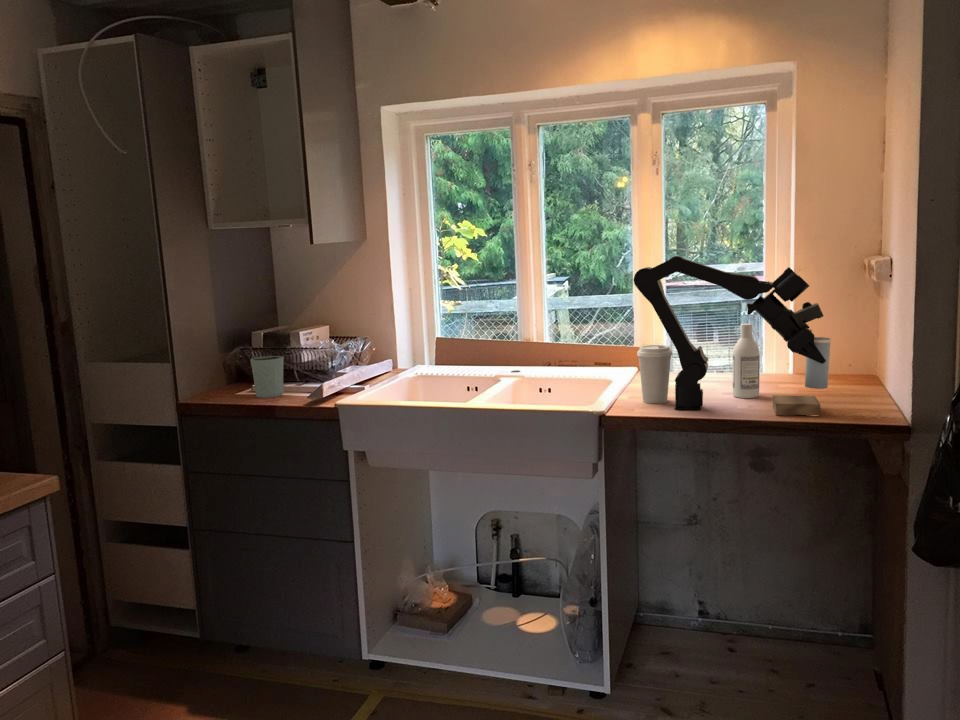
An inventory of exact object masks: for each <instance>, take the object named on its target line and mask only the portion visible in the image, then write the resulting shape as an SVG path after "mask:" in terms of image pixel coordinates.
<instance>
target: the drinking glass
mask: <svg viewBox="0 0 960 720" xmlns="http://www.w3.org/2000/svg"><path fill="white" fill-rule="evenodd" d="M284 360H285V359H284V355H282V356H281V355H267V356H266V355H264V356H257V357H252V358H250V360H249V361H250V366H251V371H252V375H253V376H252V377H253V384H254V390H255V396H256V398H260V399H261V398H262V399H265V398H268V399H269V398H274V397H275V398H276V397H281V396H283V395H284ZM282 394H283V395H282ZM280 395H281V396H280Z"/></svg>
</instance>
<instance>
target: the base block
mask: <svg viewBox="0 0 960 720" xmlns="http://www.w3.org/2000/svg"><path fill="white" fill-rule="evenodd" d="M772 409H773V411H774V414H776V415H807V416H806V417H812V416H811V415H820V416H821V403H820V402H819V400H818V398H817V397H816V396H815V395H787V394H786V395H777V394H776V395H775V394H774V395H772ZM776 415H775V416H776Z"/></svg>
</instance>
